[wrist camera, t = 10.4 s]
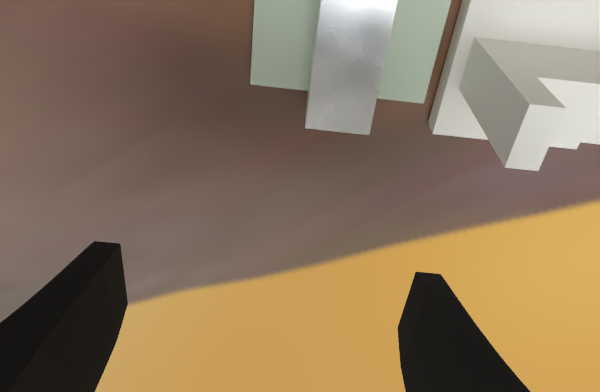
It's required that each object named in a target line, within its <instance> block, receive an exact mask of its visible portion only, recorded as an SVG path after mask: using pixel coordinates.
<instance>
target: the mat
mask: <svg viewBox="0 0 600 392" xmlns="http://www.w3.org/2000/svg"><path fill="white" fill-rule="evenodd" d="M450 4H451V0H398V1H397V6H396V10H395V15H394V20H393V25H392V29H391V34H390V39H389V44H388V48H387V53H386V58H385V63H384V68H383V72H382V77H381V82H380V87H379V91H378V96H377V99H387V100H396V101H405V102H414V103H423V104H424V101H425V97H426V93H427V90H428V86H429V82H430V78H431V75H432V71H433V67H434V63H435V60H436V56H437V52H438V49H439V45H440V41H441V37H442V34H443V30H444V26H445V22H446V19H447V15H448V11H449V7H450ZM317 8H318V0H255V2H254V20H253V39H252V58H251V77H250V85H258V86H268V87H277V88H286V89H295V90H304V91H307V89H308V81H309V73H310V65H311V57H312V49H313V41H314V33H315V25H316V17H317Z"/></svg>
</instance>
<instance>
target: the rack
mask: <svg viewBox="0 0 600 392" xmlns="http://www.w3.org/2000/svg"><path fill="white" fill-rule="evenodd" d="M428 124H429V126H430V129H431V131H432V134H438V135H448V136H457V137H466V138H476V139H485V140H489V142H490V143H491V145H492V147H493V148H494V150H495V152H496V153H497V155H498V157H499V159H500V160H501V162H502V164H503V165H504V167H506V168H515V169H525V170H534V171H538V170H539V168H540V166H541V164H542V161H543V159H544V157H545V155H546V152H547V150H548V148H549V146H551V147H560V148H569V149H577V148H578V145H579V143H580V142H583V143H592V144H600V0H462V2H461V6H460V10H459V13H458V17H457V20H456V24H455V27H454V31H453V35H452V38H451V42H450V45H449V49H448V53H447V56H446V60H445V63H444V67H443V71H442V74H441V78H440V81H439V85H438V88H437V92H436V96H435V99H434V103H433V106H432V110H431V114H430V117H429V121H428Z"/></svg>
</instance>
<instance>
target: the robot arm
mask: <svg viewBox="0 0 600 392" xmlns="http://www.w3.org/2000/svg"><path fill="white" fill-rule="evenodd" d="M127 304H128V302H127V294H126V286H125V278H124V270H123V262H122V254H121V246H120V244H117V243H106V242H96V241H94V242H93V243H92V244H91V245H89V246H88V247H87V248H86V249H85V250H84V251H83V252H82V253H81V254H80V255H78V256H77V257H76V258H75V259H74V260H73V261H72V262H71V263H70V264H69V265H68V266H67V267H65V268H64V269H63V270H62V271H61V272H60V273H59V274H58V275H57V276H55V277H54V278H53V279H52V280H51V281H50V282H49V283H48V284H46V285H45V286H44V287H43V288H42V289H41V290H40V291H38V292H37V293H36V294H35V295H34V296H33V297H31V298H30V299H29V300H28V301H27V302H26V303H24V304H23V305H22V306H21V307H20V308H18V309H17V310H16V311H15V312H13V313H12V314H11V315H10V316H8V317H7V318H6V319H5V320H3V321H2V322H1V323H0V392H95V390H96V387H97V385H98V383H99V380H100V378H101V376H102V374H103V372H104V369H105V367H106V365H107V362H108V360H109V358H110V355H111V353H112V351H113V348H114V346H115V343H116V341H117V338H118V335H119V331H120V328H121V325H122V321H123V318H124V314H125V311H126V307H127ZM398 337H399V351H400V362H401V369H402V375H403V380H404V385H405V390H406V392H530V391H529V390H528V389H527V387H526V386H525V385H524V384H523V383H522V382H521V381H520V379H519V378H518V377H517V376H516V375H515V374H514V372H513V371H512V370H511V369H510V368H509V366H508V365H507V364H506V363H505V362H504V360H503V359H502V358H501V357H500V356H499V354H498V353H497V352H496V351H495V349H494V348H493V346H492V345H491V344H490V343H489V341H488V340H487V338H486V337H485V336H484V335H483V333H482V332H481V331H480V329H479V328H478V327H477V325H476V324H475V323H474V322H473V320H472V318H471V317H470V316H469V314H468V313H467V311H466V310H465V308H464V307H463V306H462V304H461V303H460V301H459V300H458V298H457V297H456V296H455V294H454V293H453V292H452V290H451V288H450V287H449V286H448V284H447V283H446V281H445V280H444V279H443V277H442V276H441V275H440V274H433V273H422V272H416V273H415V276H414V279H413V282H412V285H411V289H410V292H409V295H408V298H407V301H406V304H405V307H404V310H403V313H402V316H401V319H400V323H399V326H398Z"/></svg>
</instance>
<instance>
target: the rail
mask: <svg viewBox="0 0 600 392" xmlns="http://www.w3.org/2000/svg"><path fill="white" fill-rule="evenodd" d="M397 1H398V0H318V8H317V17H316V25H315V33H314V41H313V49H312V57H311V65H310V73H309V81H308V89H307V97H306V113H305V128H307V129H317V130H326V131H335V132H345V133H354V134H363V135H369V134H370V130H371V125H372V120H373V115H374V110H375V106H376V101H377V96H378V91H379V87H380V82H381V77H382V72H383V68H384V63H385V58H386V53H387V48H388V44H389V39H390V34H391V29H392V25H393V20H394V15H395V10H396V6H397Z"/></svg>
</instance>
